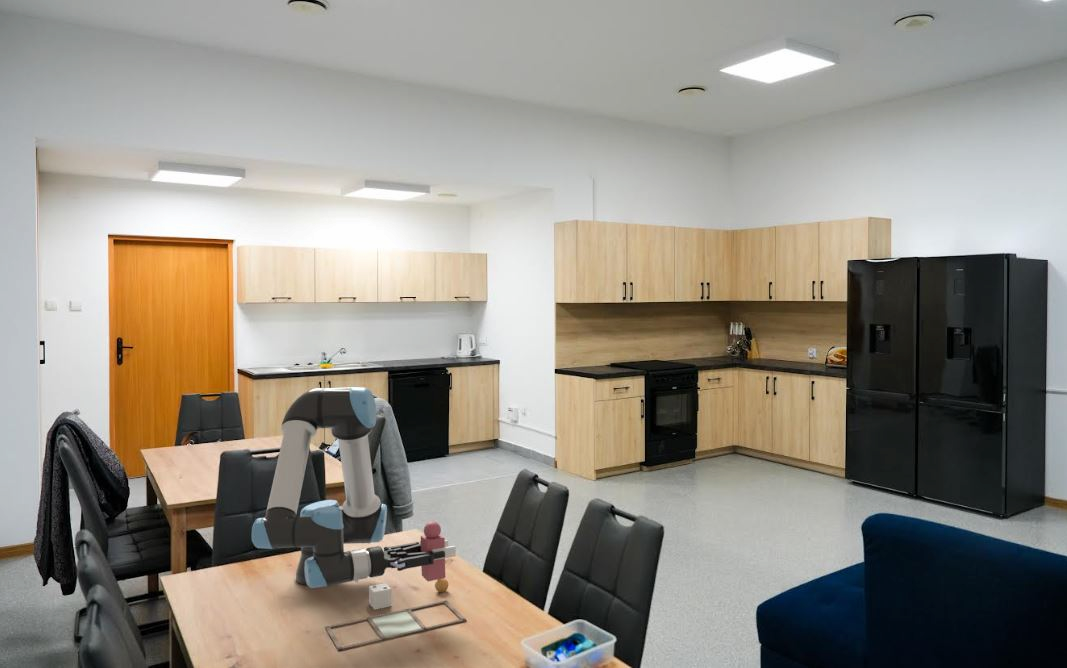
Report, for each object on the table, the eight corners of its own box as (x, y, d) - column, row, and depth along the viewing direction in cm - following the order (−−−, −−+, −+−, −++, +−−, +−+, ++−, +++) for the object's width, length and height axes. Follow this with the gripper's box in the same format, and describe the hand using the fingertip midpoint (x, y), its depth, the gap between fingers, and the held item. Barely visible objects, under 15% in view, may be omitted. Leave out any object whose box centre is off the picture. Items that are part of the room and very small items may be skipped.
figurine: (438, 597, 215) (437, 557, 214) (422, 594, 218) (421, 553, 217) (455, 588, 222) (454, 548, 221) (439, 584, 225) (438, 545, 224)
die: (369, 603, 211) (368, 586, 211) (386, 600, 214) (385, 582, 214) (374, 609, 207) (373, 592, 207) (391, 606, 209) (391, 588, 209)
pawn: (421, 575, 203) (420, 520, 202) (439, 572, 205) (437, 518, 204) (427, 581, 198) (426, 525, 197) (445, 577, 200) (444, 522, 200)
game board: (325, 628, 196) (325, 626, 196) (446, 601, 212) (446, 600, 212) (338, 651, 183) (338, 649, 183) (466, 621, 198) (466, 619, 198)
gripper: (358, 566, 201) (440, 551, 212) (377, 588, 185) (463, 571, 196) (358, 539, 201) (439, 525, 211) (376, 559, 185) (463, 543, 195)
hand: (451, 547), depth 204 cm, fingers closed on pawn, 5 cm apart
